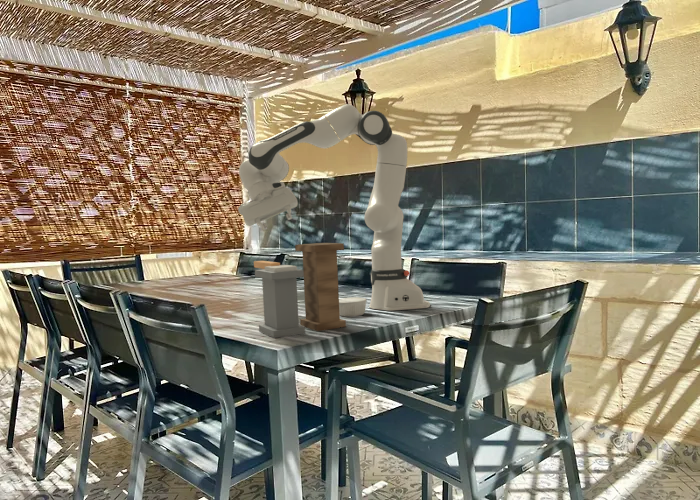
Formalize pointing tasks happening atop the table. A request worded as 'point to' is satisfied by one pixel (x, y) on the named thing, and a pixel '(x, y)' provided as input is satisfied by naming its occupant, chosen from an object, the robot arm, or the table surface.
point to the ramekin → (352, 306)
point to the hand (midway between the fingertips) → (277, 223)
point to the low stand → (280, 303)
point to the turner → (273, 266)
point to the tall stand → (321, 286)
